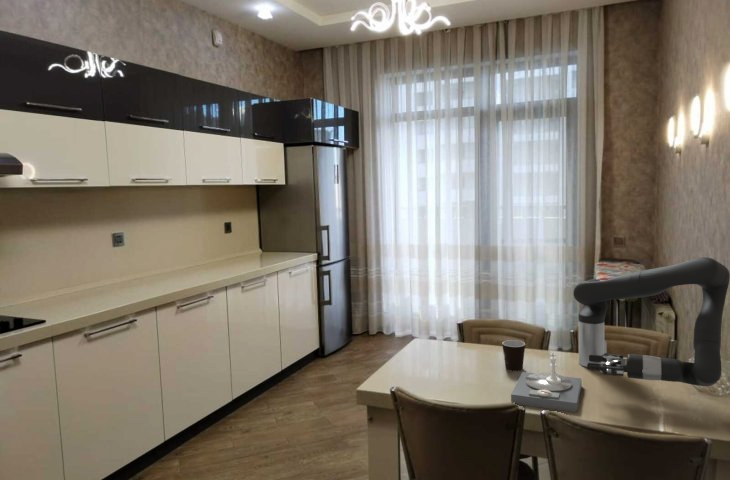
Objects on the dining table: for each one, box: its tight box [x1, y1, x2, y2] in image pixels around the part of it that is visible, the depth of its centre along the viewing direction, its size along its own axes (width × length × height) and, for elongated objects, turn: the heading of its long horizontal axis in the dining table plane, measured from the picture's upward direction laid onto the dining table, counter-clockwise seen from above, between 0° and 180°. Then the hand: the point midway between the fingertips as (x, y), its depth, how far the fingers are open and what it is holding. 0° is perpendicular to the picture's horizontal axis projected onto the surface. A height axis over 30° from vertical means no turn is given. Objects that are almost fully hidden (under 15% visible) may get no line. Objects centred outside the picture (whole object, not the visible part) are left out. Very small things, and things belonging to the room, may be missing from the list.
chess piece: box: [546, 352, 561, 384], centre depth 175 cm, size 5×5×10 cm
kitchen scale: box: [510, 371, 583, 413], centre depth 174 cm, size 22×20×4 cm
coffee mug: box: [501, 339, 526, 372], centre depth 202 cm, size 12×9×10 cm
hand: (588, 361), depth 170 cm, fingers open, 8 cm apart
